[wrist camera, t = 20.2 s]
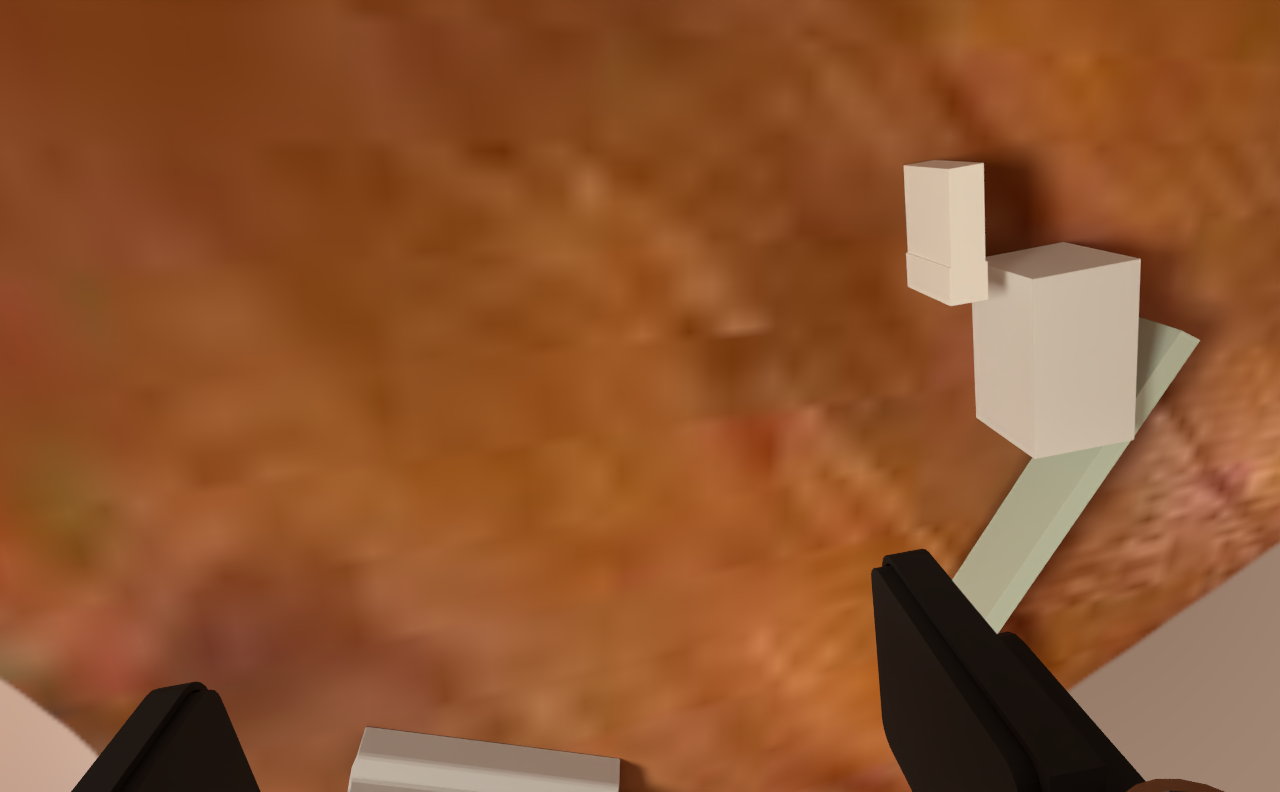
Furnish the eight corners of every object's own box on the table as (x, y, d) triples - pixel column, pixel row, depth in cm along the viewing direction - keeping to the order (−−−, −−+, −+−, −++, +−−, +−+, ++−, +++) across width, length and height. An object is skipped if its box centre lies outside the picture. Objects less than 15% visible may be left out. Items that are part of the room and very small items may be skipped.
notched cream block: (901, 165, 39) (946, 169, 34) (936, 159, 39) (985, 162, 34) (929, 697, 49) (965, 756, 45) (956, 691, 49) (995, 750, 45)
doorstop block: (970, 259, 40) (1032, 279, 35) (1062, 241, 41) (1140, 258, 35) (975, 417, 43) (1034, 459, 38) (1062, 400, 43) (1134, 439, 38)
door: (953, 621, 48) (994, 675, 43) (926, 611, 47) (964, 663, 42) (1150, 326, 42) (1222, 349, 38) (1122, 311, 42) (1190, 333, 37)
